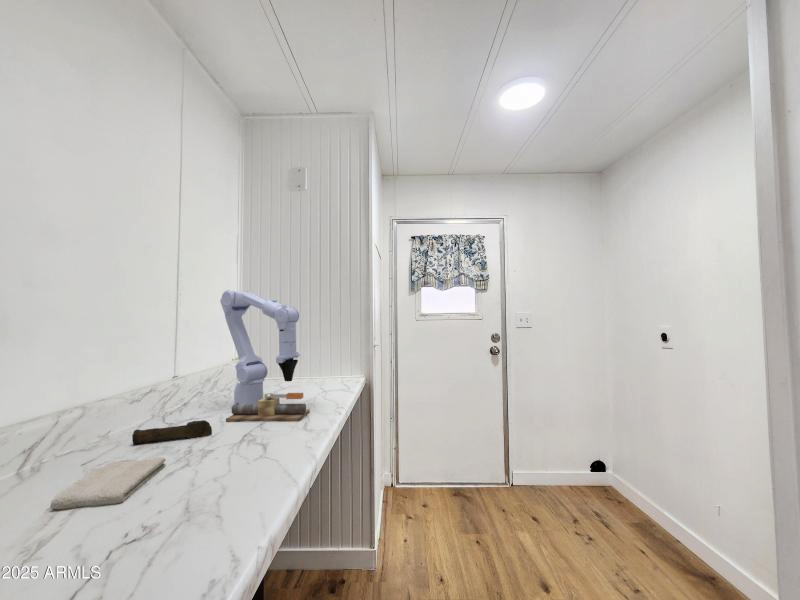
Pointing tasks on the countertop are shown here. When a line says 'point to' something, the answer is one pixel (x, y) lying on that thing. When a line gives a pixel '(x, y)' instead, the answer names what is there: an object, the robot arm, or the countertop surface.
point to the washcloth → (108, 484)
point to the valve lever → (285, 395)
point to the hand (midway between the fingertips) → (288, 381)
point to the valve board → (267, 418)
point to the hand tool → (173, 432)
